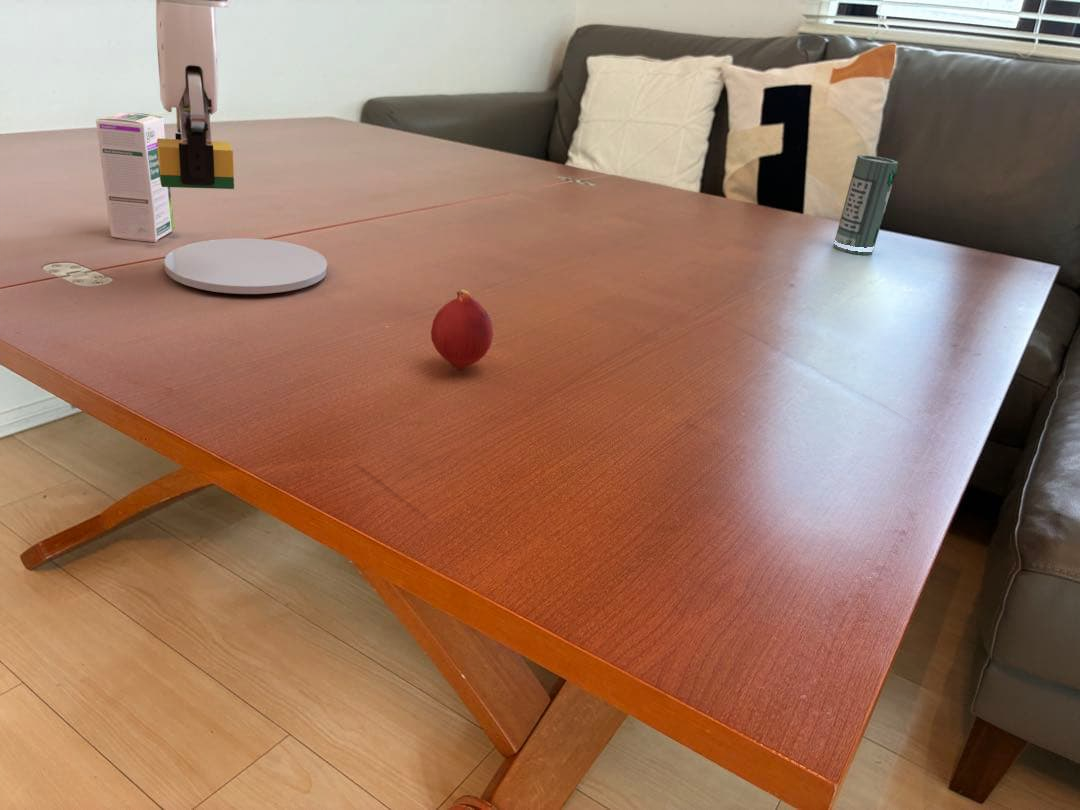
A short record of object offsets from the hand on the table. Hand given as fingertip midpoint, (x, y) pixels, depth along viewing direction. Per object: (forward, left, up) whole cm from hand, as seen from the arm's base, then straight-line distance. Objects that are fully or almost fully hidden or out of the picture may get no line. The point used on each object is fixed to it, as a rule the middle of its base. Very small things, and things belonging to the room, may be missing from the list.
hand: (195, 176), depth 89 cm
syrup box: (-6, +20, -12) cm, 24 cm away
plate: (+5, +4, -12) cm, 14 cm away
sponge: (0, 0, -1) cm, 1 cm away
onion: (+21, -26, -12) cm, 36 cm away
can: (+103, +9, -12) cm, 104 cm away
